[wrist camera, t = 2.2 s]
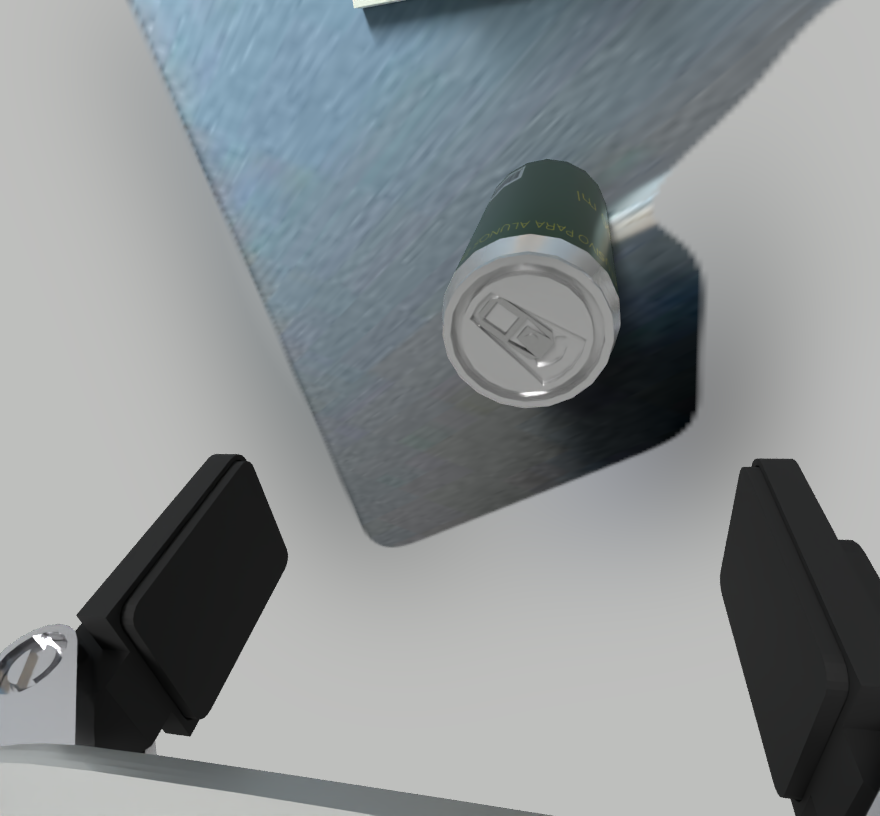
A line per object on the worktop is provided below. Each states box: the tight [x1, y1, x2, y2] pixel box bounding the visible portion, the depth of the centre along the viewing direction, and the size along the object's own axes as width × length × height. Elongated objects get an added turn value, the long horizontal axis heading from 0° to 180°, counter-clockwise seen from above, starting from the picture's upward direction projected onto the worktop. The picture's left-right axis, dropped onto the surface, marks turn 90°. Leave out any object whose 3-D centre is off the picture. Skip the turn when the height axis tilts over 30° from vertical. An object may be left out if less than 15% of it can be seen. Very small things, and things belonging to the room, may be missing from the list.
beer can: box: [442, 159, 621, 408], centre depth 21 cm, size 5×5×12 cm
